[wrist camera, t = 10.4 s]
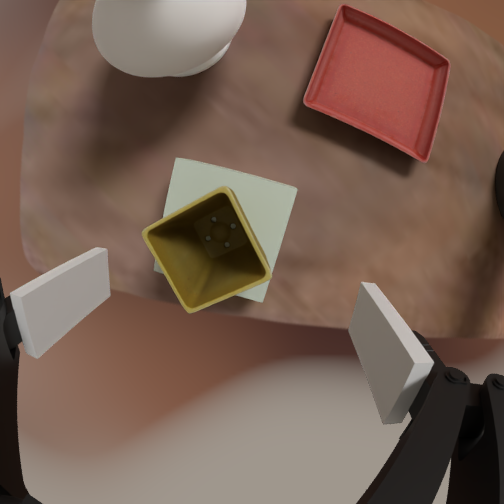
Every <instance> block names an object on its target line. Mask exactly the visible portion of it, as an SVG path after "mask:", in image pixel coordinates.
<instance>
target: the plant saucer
mask: <svg viewBox="0 0 504 504" xmlns="http://www.w3.org/2000/svg"><path fill="white" fill-rule="evenodd" d="M450 67H451V65H450V62H449V60H448V59H447V58H445V57H444V56H442V55H441V54H439V53H438V52H437V51H435V50H434V49H432V48H430V47H429V46H427V45H426V44H424V43H422V42H421V41H419V40H418V39H416V38H414V37H412V36H411V35H409V34H407V33H405V32H404V31H402V30H400V29H398V28H396V27H395V26H393V25H391V24H389V23H387V22H385V21H383V20H381V19H379V18H377V17H375V16H372V15H370V14H368V13H366V12H364V11H361V10H359V9H357V8H354V7H352V6H350V5H347V4H340V5H339V7H338V10H337V12H336V15H335V17H334V20H333V22H332V25H331V28H330V30H329V33H328V35H327V38H326V41H325V43H324V46H323V48H322V51H321V54H320V56H319V59H318V61H317V64H316V67H315V69H314V72H313V74H312V77H311V79H310V82H309V85H308V87H307V90H306V92H305V95H304V98H303V103H304V104H305V105H306V106H307V107H309V108H312V109H314V110H317V111H319V112H322V113H324V114H326V115H329V116H331V117H333V118H336V119H338V120H340V121H342V122H344V123H347V124H349V125H351V126H353V127H355V128H357V129H360V130H362V131H364V132H366V133H368V134H370V135H372V136H374V137H376V138H378V139H380V140H382V141H384V142H386V143H388V144H390V145H392V146H394V147H396V148H397V149H399V150H401V151H403V152H405V153H406V154H408V155H410V156H412V157H413V158H415V159H417V160H418V161H420V162H422V163H426V162H427V161H428V159H429V156H430V153H431V150H432V146H433V143H434V139H435V135H436V131H437V128H438V124H439V120H440V116H441V112H442V107H443V103H444V98H445V94H446V89H447V84H448V78H449V74H450Z"/></svg>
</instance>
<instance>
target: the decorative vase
mask: <svg viewBox="0 0 504 504" xmlns="http://www.w3.org/2000/svg"><path fill="white" fill-rule="evenodd" d="M245 10H246V0H96V2H95V6H94V10H93V17H92V31H93V37H94V41H95V44H96V46H97V48H98V50H99V52H100V53H101V55H102V56H103V57H104V58H105V59H106V60H107V61H108V62H109V63H110V64H111V65H113V66H114V67H115V68H117V69H119V70H121V71H123V72H125V73H128V74H131V75H135V76H140V77H164V76H174V77H184V76H190V75H194V74H197V73H200V72H202V71H205V70H206V69H208V68H210V67H211V66H213V65H214V64H215V63H217V62H218V61H219V60H220V59H221V58H222V57H223V55H224V54H225V53H226V51H227V50H228V48H229V45H230V43H231V40H232V38H233V37H234V36H235V34H236V33H237V31H238V30H239V28H240V26H241V24H242V21H243V18H244V15H245Z"/></svg>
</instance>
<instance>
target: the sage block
mask: <svg viewBox="0 0 504 504" xmlns="http://www.w3.org/2000/svg"><path fill="white" fill-rule="evenodd" d="M221 186H227V187H229V188H230V189H232V190H233V191H234V193H235V195H236V197H237V199H238V201H239V203H240V205H241V207H242V209H243V211H244V213H245V215H246V217H247V219H248V221H249V223H250V225H251V227H252V229H253V231H254V233H255V235H256V237H257V239H258V241H259V243H260V245H261V247H262V249H263V251H264V253H265V255H266V257H267V260H268V263H269V266H270V269H271V272H273V268H274V265H275V262H276V259H277V256H278V252H279V249H280V246H281V243H282V239H283V236H284V233H285V230H286V226H287V223H288V220H289V216H290V213H291V210H292V206H293V203H294V200H295V196H296V193H297V190H298V189H297V188H295V187H294V186H290V185H287V184H283V183H280V182H276V181H273V180H269V179H266V178H262V177H259V176H255V175H251V174H248V173H244V172H240V171H236V170H232V169H228V168H224V167H220V166H216V165H212V164H208V163H204V162H199V161H195V160H190V159H183V158H176V160H175V164H174V168H173V173H172V177H171V181H170V186H169V190H168V195H167V199H166V204H165V209H164V214H163V218H164V217H166V216H168V215H170V214H171V213H173V212H175V211H177V210H178V209H180V208H182V207H184V206H186V205H187V204H189V203H191V202H193V201H195V200H197V199H198V198H200V197H202V196H204V195H206V194H207V193H209V192H211V191H213V190H215V189H217V188H219V187H221ZM211 220H212V222H216V218H215V217H213V218H212V219H211ZM235 227H236V225H235V224H231V228H235ZM210 239H211V238H210V236H206V240H208V241H209V240H210ZM225 247H229V243H228V242H226V243H225ZM154 271H156V272H159V273H162V274H164V273H163V271H162V270H161V268H160V266H159V265H158V263H157V261H156V260H155V265H154ZM269 281H270V280H268V281H266V282H265V283H262V284H260V285H258V286H255V287H253V288H251V289H248V290H246V291H244V292H241V293H239V294H237V295H236V296H240V297H244V298H247V299H251V300H255V301H258V302H262V303H263V300H264V297H265V293H266V290H267V287H268V284H269Z"/></svg>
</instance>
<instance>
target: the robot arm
mask: <svg viewBox="0 0 504 504" xmlns="http://www.w3.org/2000/svg"><path fill="white" fill-rule="evenodd" d="M496 197H497V202H498V206H499V210H500V212H501V215H502V217H503V219H504V152H503V154H502V155H501V157H500V160H499V163H498V167H497V172H496ZM108 297H110V284H109V271H108V251H107V249H105V248H98V247H96V248H94V249H92V250H90V251H88V252H86V253H84V254H82V255H80V256H78V257H76V258H74V259H72V260H70V261H68V262H66V263H64V264H62V265H60V266H58V267H56V268H54V269H52V270H51V271H49V272H47V273H45V274H43V275H41V276H39V277H38V278H36V279H34V280H32V281H30V282H28V283H27V284H25V285H23V286H21V287H20V288H18V289H17V290H14V291H13V292H11V293H10V296H8V297H6V298H5V297H4V293H3V288H2V283H1V278H0V504H42V503H41V502H39V501H38V500H36V499H35V498H33V497H32V496H30V494H29V493H28V491H27V489H26V487H25V485H24V481H23V476H22V469H21V462H20V453H19V442H18V426H17V384H18V366H19V356H20V351H19V348H18V344H19V343H20V342H23V345H24V348H25V351H26V353H27V354H29V355H31V356H33V357H35V358H37V359H38V358H39V357H40V356H41V355H42V354H44V353H45V352H46V351H47V350H48V349H49V348H50V347H51V346H52V345H54V343H56V342H57V341H58V340H59V339H60V338H61V337H63V336H64V335H65V334H66V333H67V332H68V331H69V330H70V329H72V328H73V327H74V326H75V325H76V324H77V323H79V322H80V321H81V320H82V319H83V318H84V317H85V316H87V315H88V314H89V313H90V312H92V311H93V310H94V309H95V308H96V307H97V306H98V305H100V304H101V303H102V302H103V301H104V300H106V299H107V298H108ZM348 331H349V334H350V336H351V339H352V341H353V344H354V346H355V349H356V351H357V354H358V356H359V359H360V361H361V364H362V367H363V369H364V372H365V375H366V378H367V380H368V383H369V386H370V388H371V391H372V394H373V397H374V400H375V403H376V405H377V408H378V411H379V414H380V417H381V419H382V423H383V424H394V423H402V421H403V419H404V418H405V416H406V414H407V413H408V411H409V413H410V415H411V418H412V419H411V421H410V423H409V424H408V426H407V427H406V429H405V430H404V432H403V433H402V435H401V436H400V438H399V439H400V440H399V442H398V443H397V445H396V447H395V449H394V450H393V452H392V454H391V455H390V457H389V458H388V460H387V461H386V463H385V464H384V466H383V468H382V469H381V470H380V472H379V474H378V475H377V476H376V478H375V479H374V481H373V482H372V483H371V485H370V486H369V488H368V489H367V490H366V491H365V493H364V494H363V496H362V497H361V498H360V499H359V501H358V502H357V503H356V504H432V503H433V500H434V498H435V496H436V494H437V492H438V489H439V487H440V485H441V482H442V480H443V478H444V475H445V472H446V470H447V467H448V464H449V462H450V459H451V468H450V478H449V487H448V495H447V501H446V504H504V376H503V375H499V374H490V375H488V376H487V378H486V379H485V381H484V383H483V385H480V384H473V383H470V380H469V378H468V377H467V375H466V374H465V373H463V372H462V371H460V370H458V369H456V368H452V367H445V365H444V364H443V362H442V361H441V360H440V358H439V357H438V355H437V354H436V353H435V351H433V349H432V347H431V346H430V345H429V343H428V342H427V341H426V339H425V338H424V337H423V336H422V335H420V334H419V333H418V332H416V331H412V330H411V329H410V328H409V327H408V325H407V324H406V323H405V321H404V320H403V319H402V317H401V316H400V315H399V313H398V312H397V311H396V310H395V308H394V307H393V306H392V304H391V303H390V302H389V301H388V299H387V298H386V297H385V295H384V294H383V293H382V292H381V290H380V289H379V288H378V287H377V285H376V284H374V283H365V282H361V285H360V289H359V293H358V297H357V301H356V304H355V308H354V312H353V316H352V319H351V323H350V326H349V330H348Z"/></svg>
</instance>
